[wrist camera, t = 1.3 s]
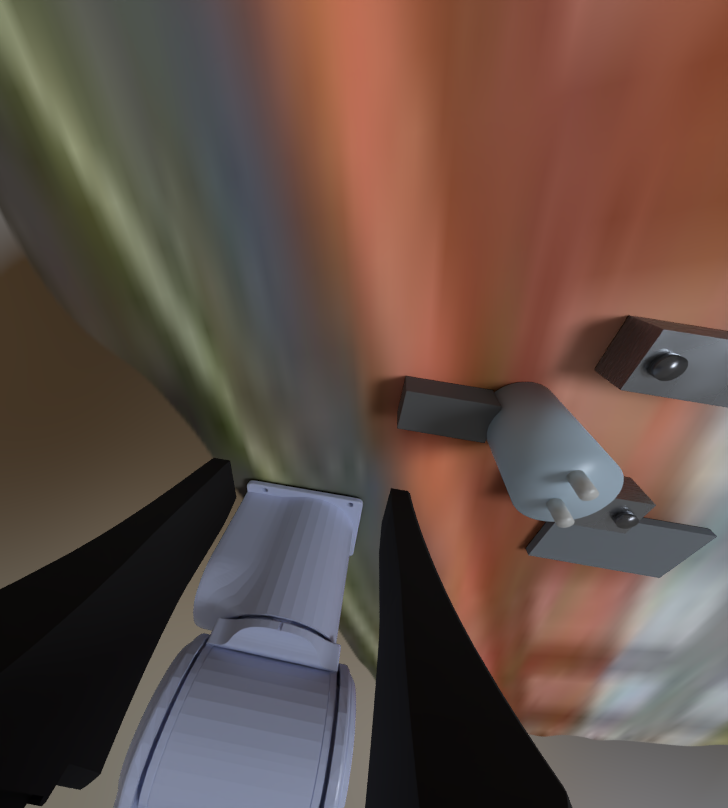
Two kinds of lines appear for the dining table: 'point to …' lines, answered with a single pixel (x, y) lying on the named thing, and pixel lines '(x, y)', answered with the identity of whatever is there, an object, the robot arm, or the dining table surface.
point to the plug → (520, 444)
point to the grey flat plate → (622, 546)
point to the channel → (659, 389)
